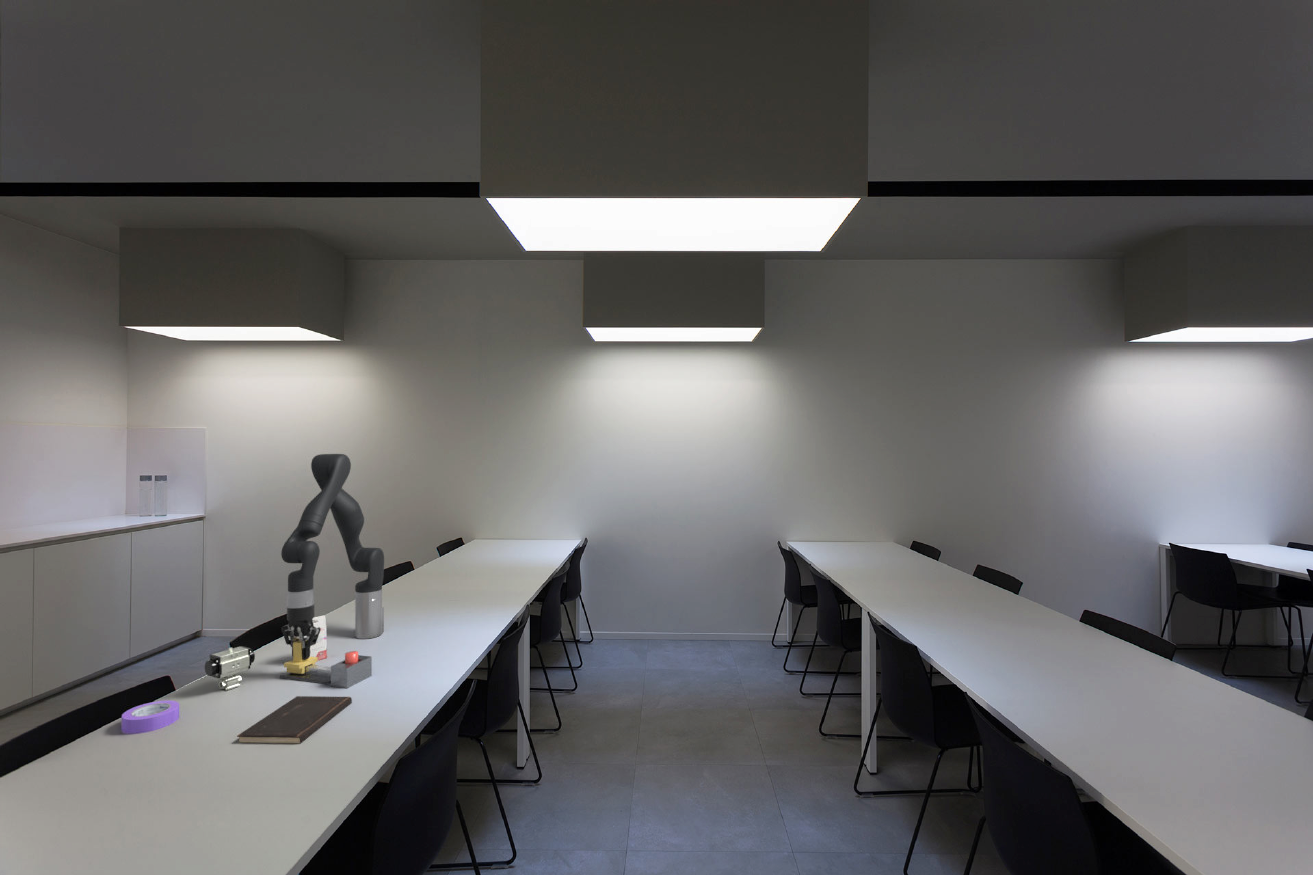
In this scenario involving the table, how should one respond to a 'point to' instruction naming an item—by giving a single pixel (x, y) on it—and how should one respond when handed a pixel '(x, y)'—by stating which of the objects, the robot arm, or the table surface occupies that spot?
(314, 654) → the ink cartridge box
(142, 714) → the masking tape
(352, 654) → the button
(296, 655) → the yellow flanged block
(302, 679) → the rail
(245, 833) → the table surface
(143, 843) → the table surface
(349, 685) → the grey button housing
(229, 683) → the pneumatic valve
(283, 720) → the hardcover book
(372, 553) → the robot arm
